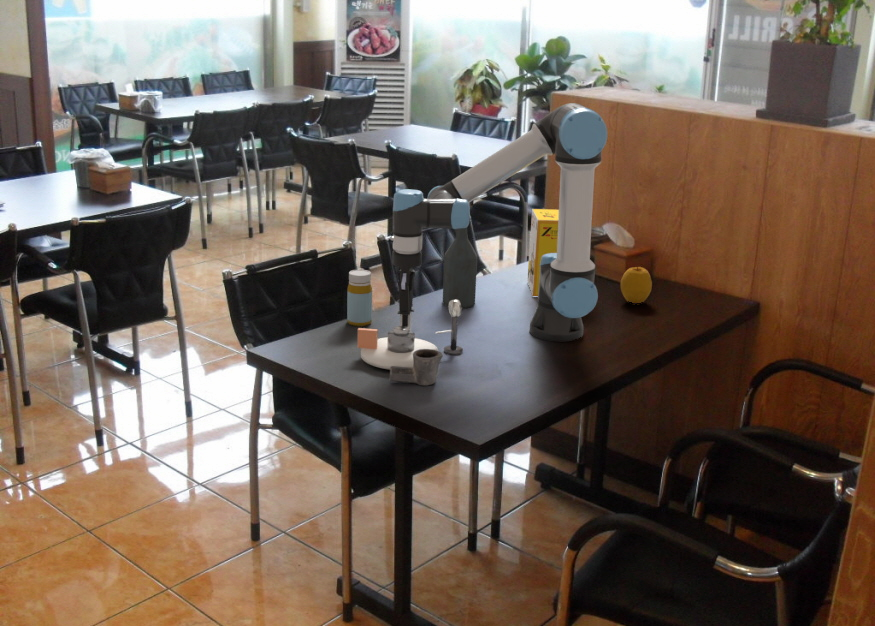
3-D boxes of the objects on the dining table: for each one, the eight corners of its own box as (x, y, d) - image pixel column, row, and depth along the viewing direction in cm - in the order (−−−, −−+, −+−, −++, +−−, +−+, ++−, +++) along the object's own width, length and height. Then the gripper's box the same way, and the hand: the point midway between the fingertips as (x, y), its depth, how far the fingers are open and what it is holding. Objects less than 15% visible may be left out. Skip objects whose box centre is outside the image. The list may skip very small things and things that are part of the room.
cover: (416, 344, 255) (416, 325, 253) (411, 354, 248) (412, 334, 247) (390, 342, 256) (390, 322, 254) (384, 351, 249) (385, 331, 248)
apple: (627, 295, 311) (630, 260, 307) (655, 302, 306) (659, 266, 302) (613, 303, 304) (617, 267, 300) (642, 309, 298) (646, 273, 295)
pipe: (389, 378, 240) (389, 348, 237) (440, 378, 241) (441, 348, 238) (390, 388, 234) (390, 357, 231) (442, 388, 235) (444, 357, 233)
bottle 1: (368, 328, 274) (368, 277, 269) (344, 325, 275) (344, 274, 271) (374, 320, 281) (375, 270, 276) (351, 317, 282) (351, 268, 277)
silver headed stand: (457, 347, 262) (459, 296, 257) (466, 353, 258) (468, 301, 253) (430, 351, 258) (432, 299, 254) (439, 357, 254) (441, 305, 250)
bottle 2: (481, 306, 296) (486, 210, 286) (454, 310, 291) (458, 213, 281) (463, 297, 304) (467, 203, 295) (436, 301, 299) (439, 205, 290)
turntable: (442, 345, 260) (443, 322, 258) (432, 372, 241) (433, 348, 239) (365, 339, 262) (365, 316, 260) (349, 366, 243) (349, 342, 241)
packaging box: (583, 299, 307) (590, 221, 299) (532, 297, 306) (537, 220, 298) (576, 284, 322) (582, 210, 314) (527, 282, 322) (532, 208, 314)
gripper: (396, 243, 256) (395, 327, 264) (388, 256, 244) (387, 343, 252) (424, 244, 256) (422, 329, 263) (418, 257, 243) (416, 345, 251)
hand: (405, 336), depth 257 cm, fingers closed
